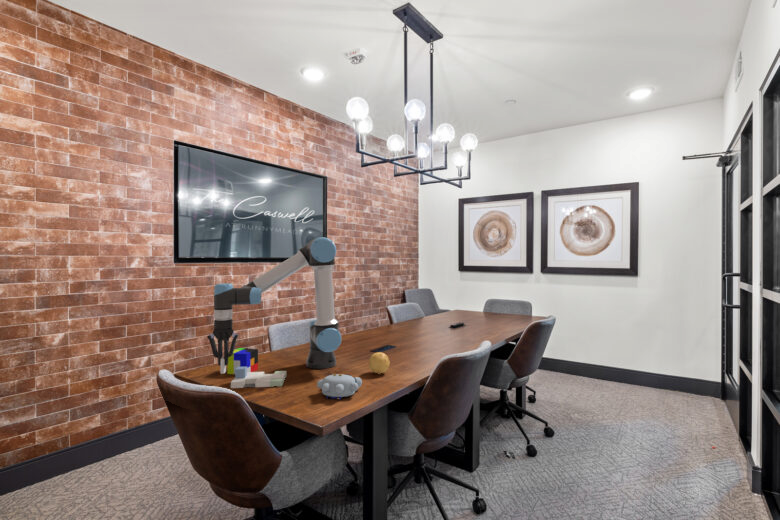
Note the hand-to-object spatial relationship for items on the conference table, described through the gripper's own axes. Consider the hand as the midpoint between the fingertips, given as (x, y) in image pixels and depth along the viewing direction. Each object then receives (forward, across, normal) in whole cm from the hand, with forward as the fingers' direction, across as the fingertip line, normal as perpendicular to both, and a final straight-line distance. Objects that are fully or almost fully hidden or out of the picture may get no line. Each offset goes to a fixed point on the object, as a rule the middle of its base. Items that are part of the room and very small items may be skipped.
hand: (223, 372), depth 170 cm
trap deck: (+5, +16, 0) cm, 16 cm away
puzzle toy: (+5, +4, +17) cm, 18 cm away
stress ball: (+5, +69, +6) cm, 70 cm away
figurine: (+5, +51, -18) cm, 54 cm away
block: (+2, +8, 0) cm, 8 cm away
